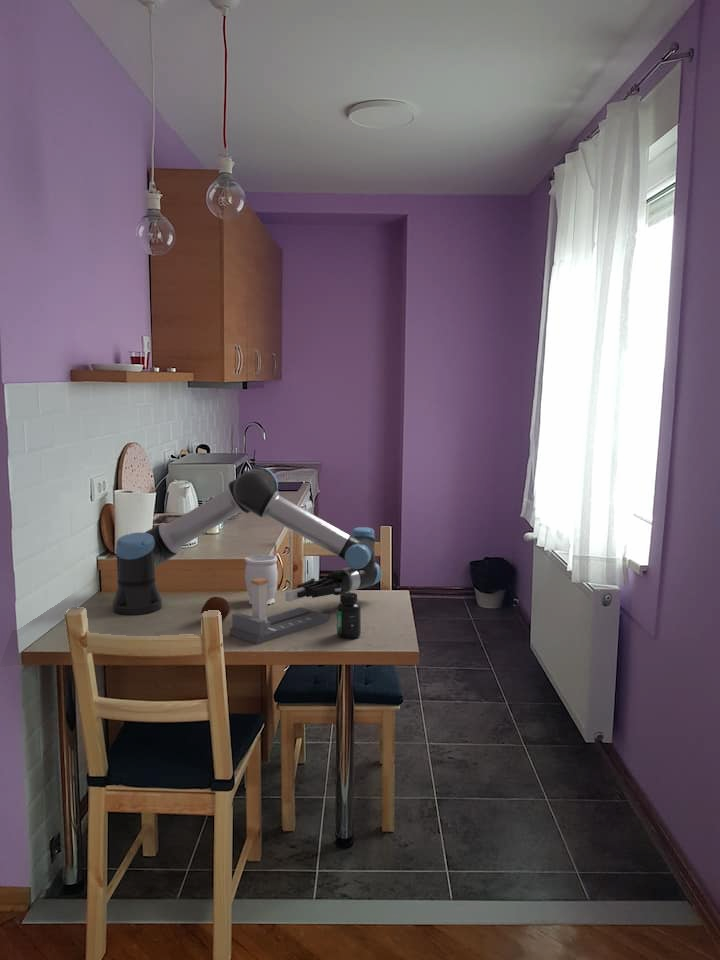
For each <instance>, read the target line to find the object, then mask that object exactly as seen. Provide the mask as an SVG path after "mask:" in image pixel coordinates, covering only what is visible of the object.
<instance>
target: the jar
mask: <svg viewBox="0 0 720 960" xmlns="http://www.w3.org/2000/svg"><path fill="white" fill-rule="evenodd" d="M244 562H245V563H246V565H245V571H244V579H245V586H246V592H247V594H248V596H249V600H248V604H250V605H252V584H251V580H252V579H257V578H263V579H267V580H268V583H267V606H269V605H268V604H270V605H273V604H275V603H276V600H275V598H274V597H275V595H276V592H277V585H278V580H279V579H278V578H279V574H278V572H279V571H278V566H277V562H278V556H275V555H270V554H255V555H249V556H247V557H245V558H244ZM272 603H273V604H272Z"/></svg>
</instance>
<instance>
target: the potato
mask: <svg viewBox="0 0 720 960" xmlns="http://www.w3.org/2000/svg"><path fill="white" fill-rule="evenodd" d="M208 610H219V611H220V612H221V615H222V621H224V619H226V618H227V617H228V615H229V614H230V610H231V609H230V606H229V602H228V601H227V600H226V599H225V598H224V597H220V596H219V597H218V596H212V597H209V599H207V600H206V601H205V603H204V604H203V606H202V608H201V612H200V613H201V614H202V613H203V612H204V611H208Z"/></svg>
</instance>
